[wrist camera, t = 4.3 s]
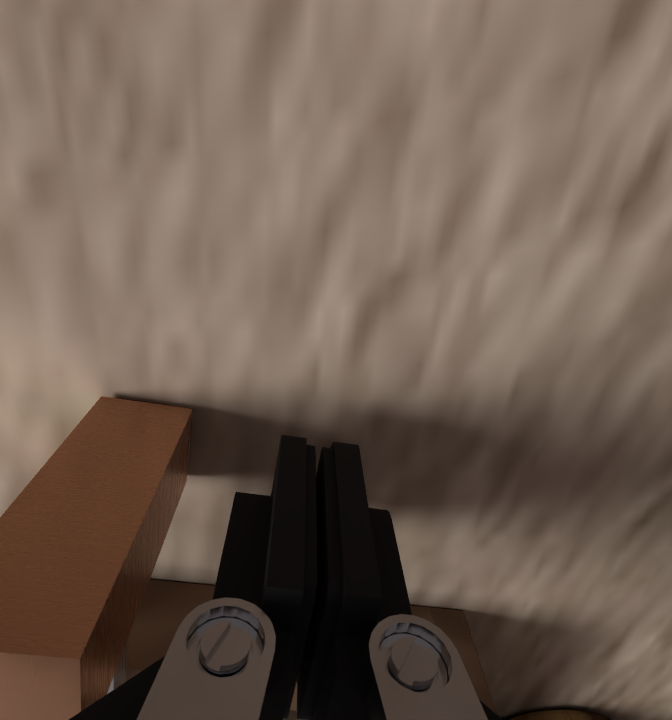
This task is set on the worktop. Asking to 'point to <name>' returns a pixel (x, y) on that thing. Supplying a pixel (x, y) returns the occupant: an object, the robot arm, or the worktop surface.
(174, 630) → the lane
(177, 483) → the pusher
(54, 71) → the worktop surface
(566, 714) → the mortar and pestle
